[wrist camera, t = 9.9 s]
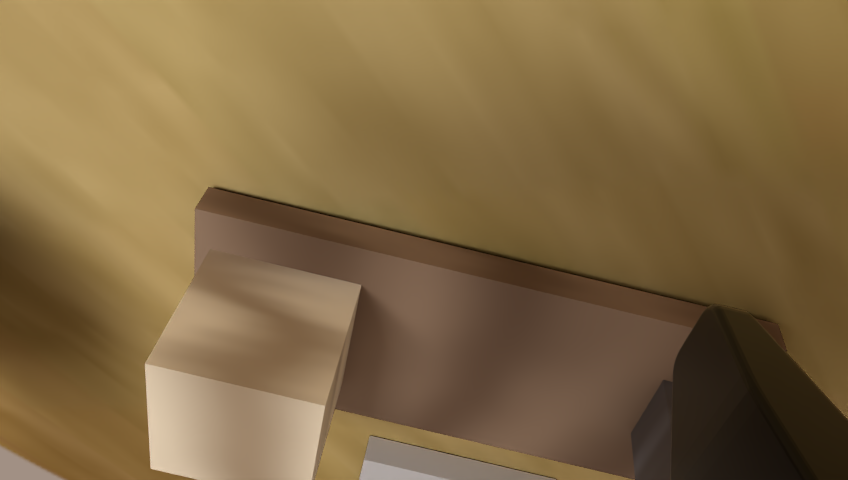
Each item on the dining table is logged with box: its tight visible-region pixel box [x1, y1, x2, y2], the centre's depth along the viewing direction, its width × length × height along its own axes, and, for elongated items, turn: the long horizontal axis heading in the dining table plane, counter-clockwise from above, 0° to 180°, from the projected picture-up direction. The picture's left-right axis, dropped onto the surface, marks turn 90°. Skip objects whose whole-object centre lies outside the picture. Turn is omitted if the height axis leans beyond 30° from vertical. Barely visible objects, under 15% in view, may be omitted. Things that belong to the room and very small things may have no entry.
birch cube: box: [145, 249, 361, 480], centre depth 24 cm, size 5×5×5 cm
